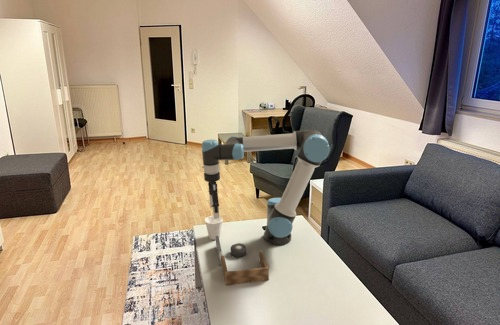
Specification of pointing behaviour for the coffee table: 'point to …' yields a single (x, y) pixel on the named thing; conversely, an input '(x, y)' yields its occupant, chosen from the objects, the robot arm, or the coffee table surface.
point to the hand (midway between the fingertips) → (214, 212)
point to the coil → (238, 250)
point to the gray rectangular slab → (219, 250)
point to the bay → (246, 273)
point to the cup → (213, 226)
